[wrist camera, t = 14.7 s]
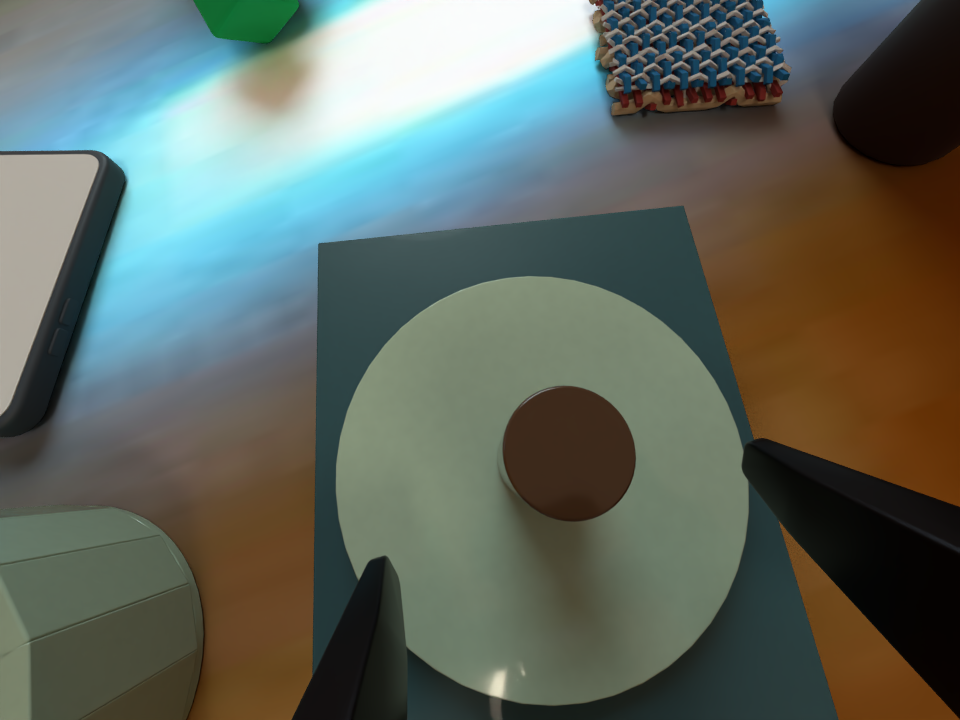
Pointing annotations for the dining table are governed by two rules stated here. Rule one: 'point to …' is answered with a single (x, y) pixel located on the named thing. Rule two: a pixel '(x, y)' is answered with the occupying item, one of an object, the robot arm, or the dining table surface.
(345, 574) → the book
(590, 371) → the cover
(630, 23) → the woven mat
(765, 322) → the dining table surface
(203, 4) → the building blocks
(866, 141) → the bottle
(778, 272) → the dining table surface
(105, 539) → the dish
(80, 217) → the smartphone
